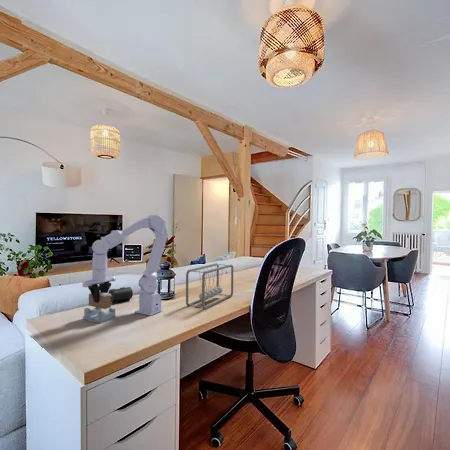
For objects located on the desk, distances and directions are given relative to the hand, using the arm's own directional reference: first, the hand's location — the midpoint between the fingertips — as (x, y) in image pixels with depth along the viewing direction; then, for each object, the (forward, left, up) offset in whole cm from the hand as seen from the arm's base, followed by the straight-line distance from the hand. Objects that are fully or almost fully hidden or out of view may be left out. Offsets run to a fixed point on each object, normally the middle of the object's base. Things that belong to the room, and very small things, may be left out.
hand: (99, 301), depth 117 cm
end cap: (+13, -23, -8) cm, 27 cm away
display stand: (0, 0, -7) cm, 7 cm away
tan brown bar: (0, 0, -2) cm, 2 cm away
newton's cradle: (-28, -46, -8) cm, 54 cm away
